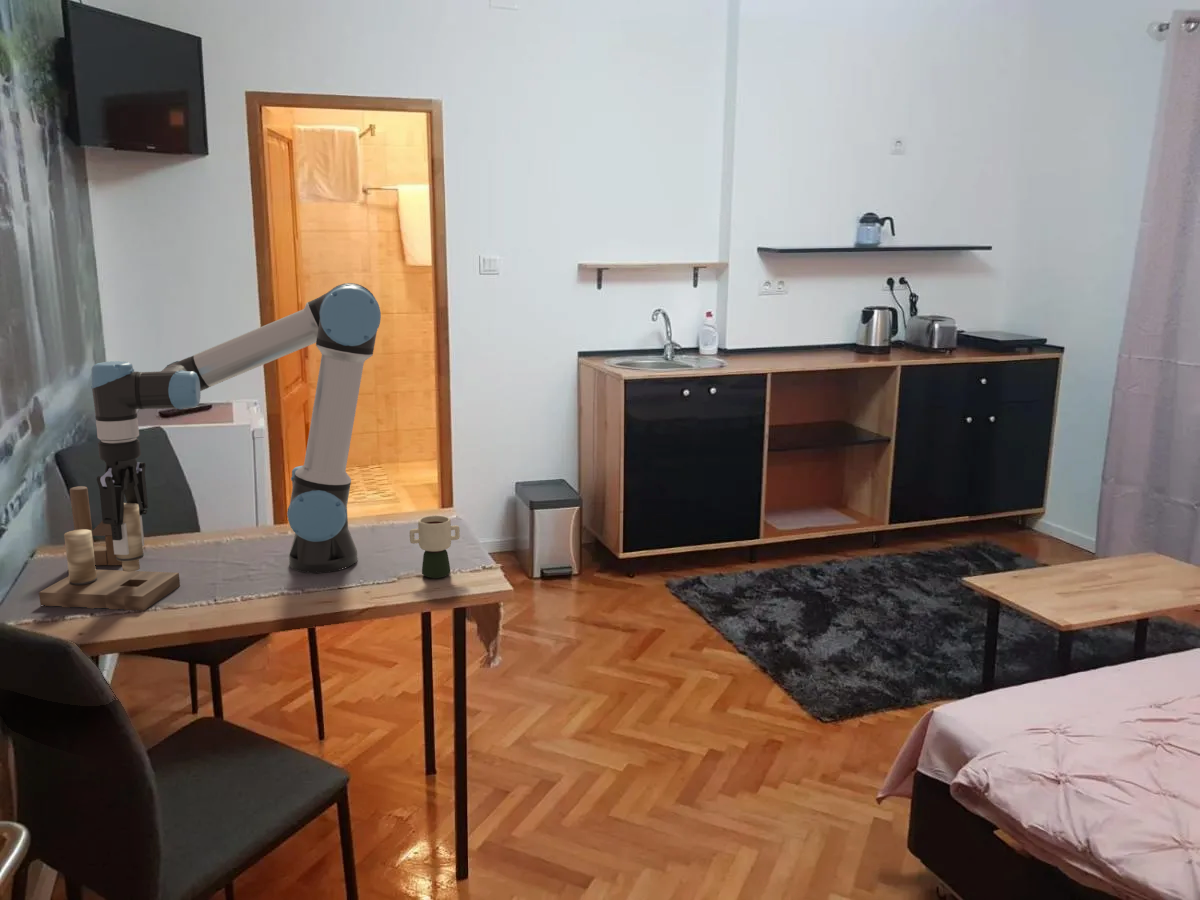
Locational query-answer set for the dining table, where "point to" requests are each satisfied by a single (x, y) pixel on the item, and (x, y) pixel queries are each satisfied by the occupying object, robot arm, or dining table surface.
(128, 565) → the beech peg
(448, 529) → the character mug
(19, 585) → the dining table surface
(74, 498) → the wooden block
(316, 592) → the dining table surface
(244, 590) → the dining table surface
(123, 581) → the walnut board
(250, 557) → the dining table surface
